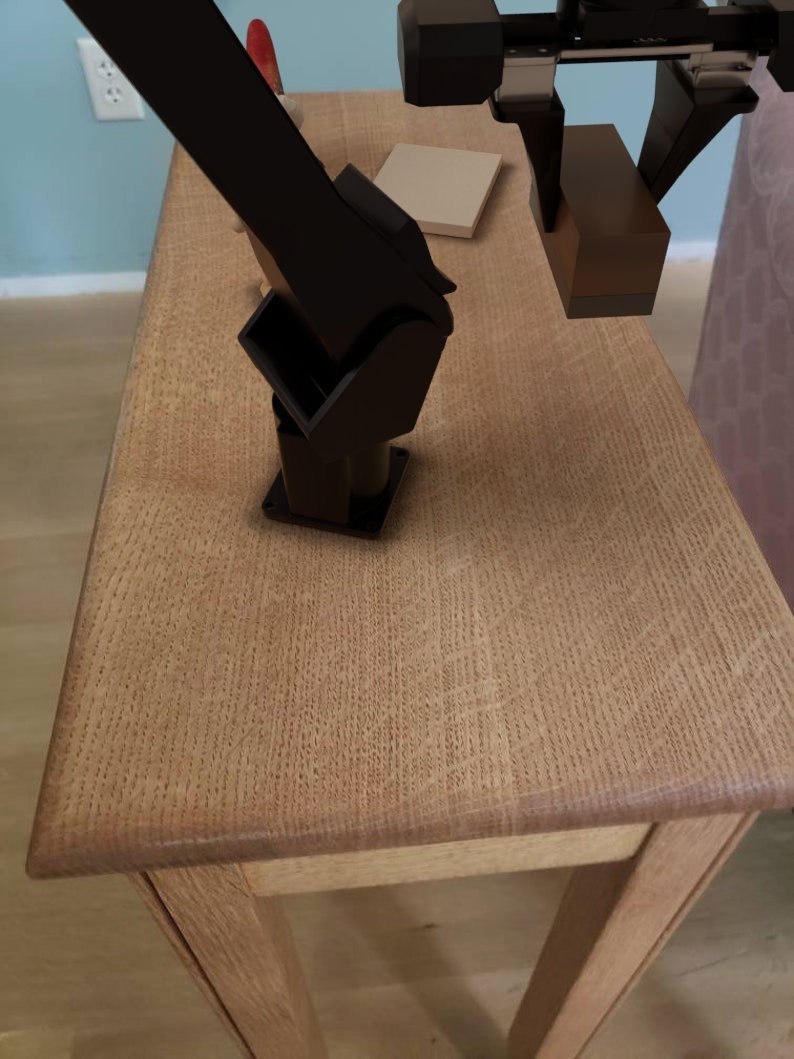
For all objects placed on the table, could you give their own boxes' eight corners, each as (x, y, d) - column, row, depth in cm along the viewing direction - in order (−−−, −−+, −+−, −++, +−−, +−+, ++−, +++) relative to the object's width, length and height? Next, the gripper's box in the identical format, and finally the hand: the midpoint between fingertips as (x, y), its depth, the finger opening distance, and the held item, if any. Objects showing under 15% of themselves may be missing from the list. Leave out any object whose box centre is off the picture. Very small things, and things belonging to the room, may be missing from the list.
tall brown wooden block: (651, 315, 40) (671, 232, 37) (567, 319, 40) (579, 236, 37) (600, 200, 47) (613, 123, 44) (528, 203, 47) (536, 126, 44)
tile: (471, 239, 63) (472, 226, 62) (354, 223, 65) (354, 211, 64) (501, 166, 71) (502, 154, 70) (397, 154, 72) (397, 142, 72)
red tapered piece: (286, 134, 75) (272, 7, 68) (306, 237, 64) (292, 96, 56) (253, 137, 75) (236, 9, 67) (267, 241, 63) (248, 100, 56)
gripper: (824, -220, 36) (724, 146, 48) (386, -207, 36) (393, 160, 48) (952, -166, 29) (798, 251, 41) (403, -149, 28) (406, 269, 40)
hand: (590, 227), depth 42 cm, fingers closed on tall brown wooden block, 4 cm apart
